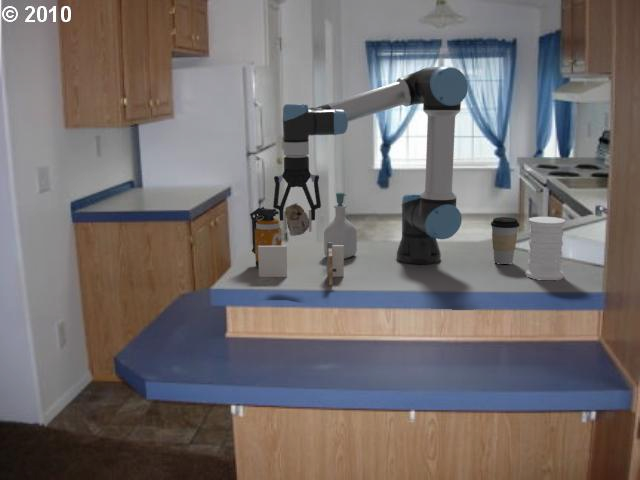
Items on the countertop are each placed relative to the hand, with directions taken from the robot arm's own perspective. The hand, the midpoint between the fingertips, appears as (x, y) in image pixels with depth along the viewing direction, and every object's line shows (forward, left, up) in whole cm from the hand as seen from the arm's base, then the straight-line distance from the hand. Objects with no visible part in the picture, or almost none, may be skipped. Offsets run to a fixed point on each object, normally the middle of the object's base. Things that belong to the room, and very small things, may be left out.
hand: (297, 230), depth 225 cm
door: (-11, +1, -15) cm, 19 cm away
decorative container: (-77, -5, -16) cm, 79 cm away
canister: (+12, -20, -16) cm, 28 cm away
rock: (0, 0, 0) cm, 1 cm away
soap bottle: (-13, -33, -16) cm, 39 cm away
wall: (0, -6, -16) cm, 17 cm away
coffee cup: (-68, -22, -16) cm, 73 cm away
